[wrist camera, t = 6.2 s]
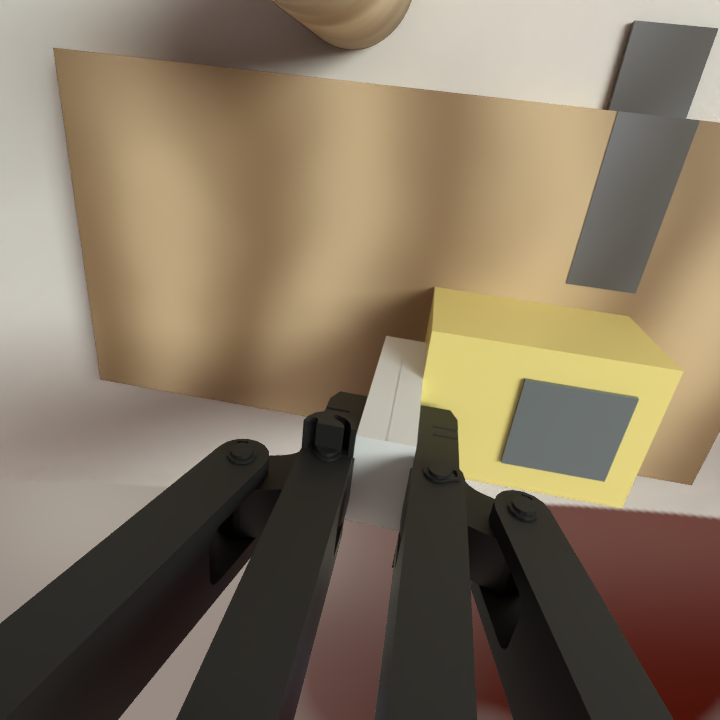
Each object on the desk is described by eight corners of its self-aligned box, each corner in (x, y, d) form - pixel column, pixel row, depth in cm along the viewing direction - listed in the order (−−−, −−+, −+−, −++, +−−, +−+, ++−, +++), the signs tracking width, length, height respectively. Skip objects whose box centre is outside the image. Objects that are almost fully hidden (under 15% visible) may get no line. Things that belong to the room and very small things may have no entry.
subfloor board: (121, 412, 25) (106, 425, 23) (66, -33, 17) (39, -44, 16) (657, 510, 22) (668, 531, 21) (886, 46, 14) (923, 39, 13)
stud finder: (413, 401, 20) (406, 470, 16) (434, 287, 18) (432, 332, 14) (585, 431, 20) (623, 511, 16) (628, 316, 18) (686, 373, 13)
